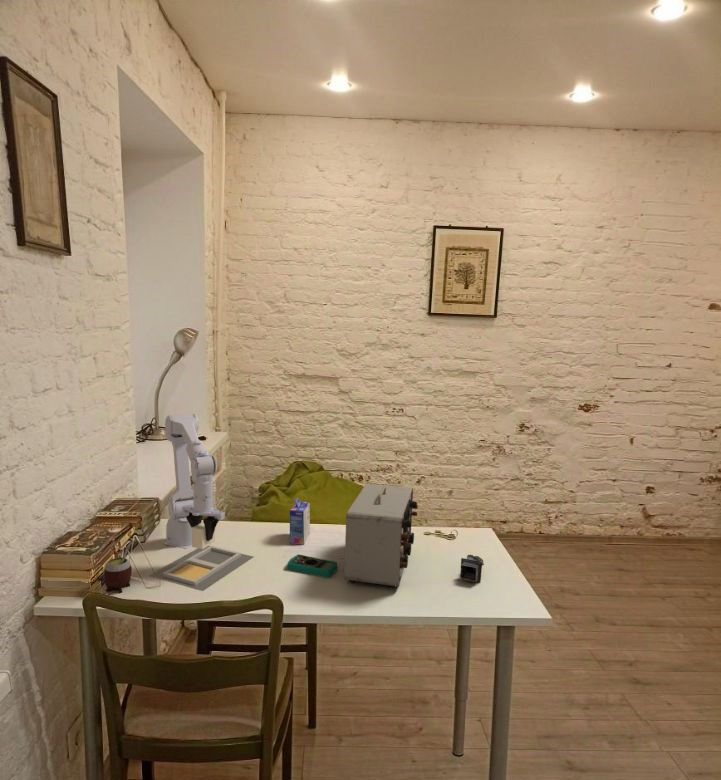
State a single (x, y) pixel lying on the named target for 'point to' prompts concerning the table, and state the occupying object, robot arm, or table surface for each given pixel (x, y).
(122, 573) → the mate gourd
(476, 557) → the ethernet keystone jack
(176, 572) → the grey flat tray
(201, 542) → the plug
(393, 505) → the vintage electronic device
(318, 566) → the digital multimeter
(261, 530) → the table surface
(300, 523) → the ink cartridge box
